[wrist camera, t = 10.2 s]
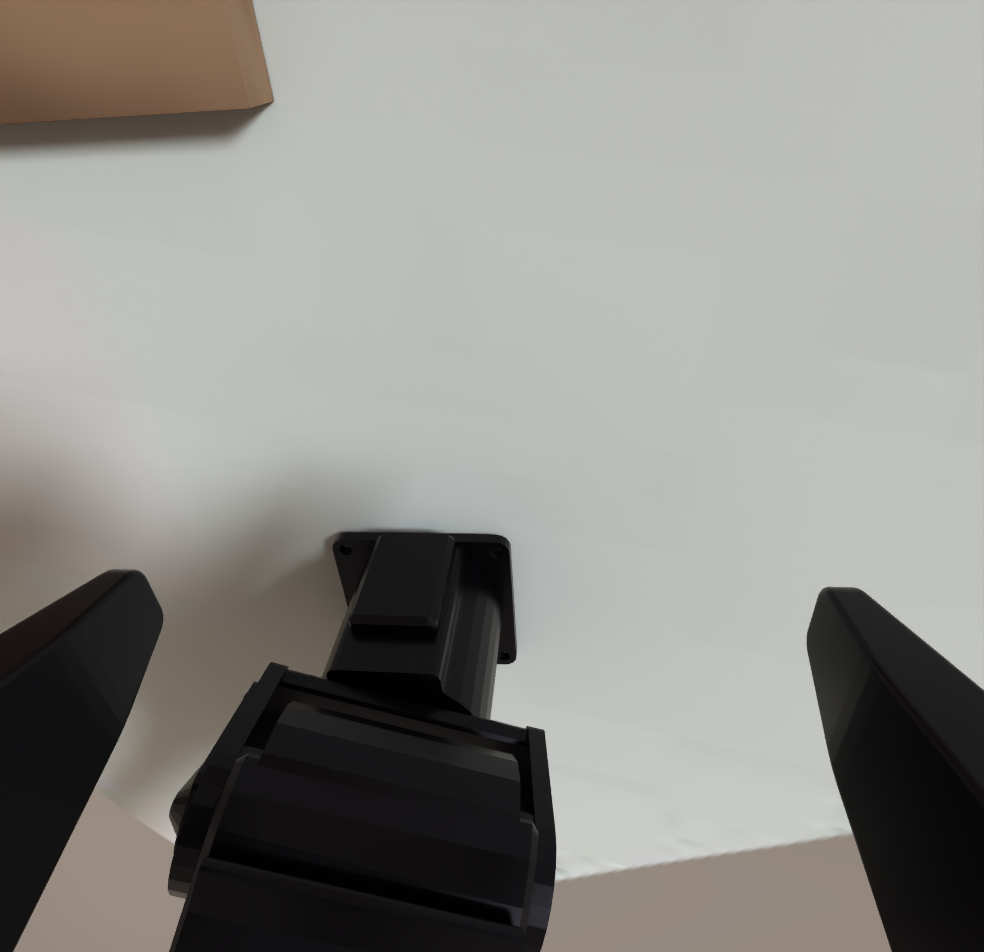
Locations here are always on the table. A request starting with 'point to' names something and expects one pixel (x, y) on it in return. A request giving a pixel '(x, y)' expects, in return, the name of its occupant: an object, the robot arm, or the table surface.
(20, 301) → the table surface
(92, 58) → the wooden board with peg
